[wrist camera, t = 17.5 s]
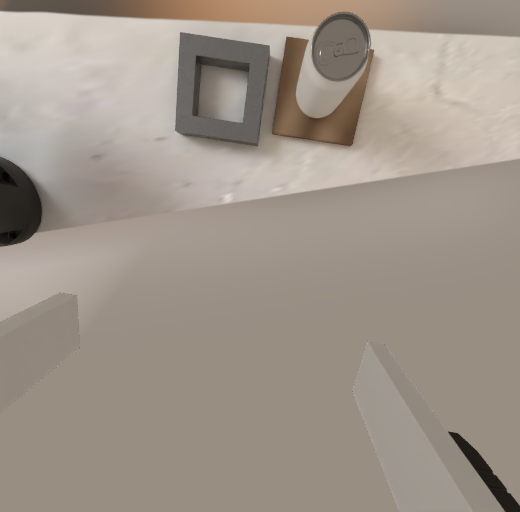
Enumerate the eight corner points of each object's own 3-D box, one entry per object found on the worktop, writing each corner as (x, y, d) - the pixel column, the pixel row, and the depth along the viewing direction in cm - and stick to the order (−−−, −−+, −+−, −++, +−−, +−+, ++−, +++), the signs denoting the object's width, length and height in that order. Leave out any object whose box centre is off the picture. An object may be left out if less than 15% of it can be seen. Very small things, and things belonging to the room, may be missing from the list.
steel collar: (181, 134, 38) (175, 130, 36) (186, 42, 35) (180, 32, 33) (257, 146, 38) (256, 143, 36) (269, 55, 35) (269, 45, 33)
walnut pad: (272, 133, 38) (272, 132, 37) (286, 40, 34) (286, 36, 34) (350, 145, 38) (352, 144, 37) (371, 53, 34) (374, 49, 33)
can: (291, 75, 35) (300, 18, 23) (337, 61, 34) (370, -5, 22) (300, 124, 36) (313, 94, 25) (344, 112, 36) (379, 75, 24)
